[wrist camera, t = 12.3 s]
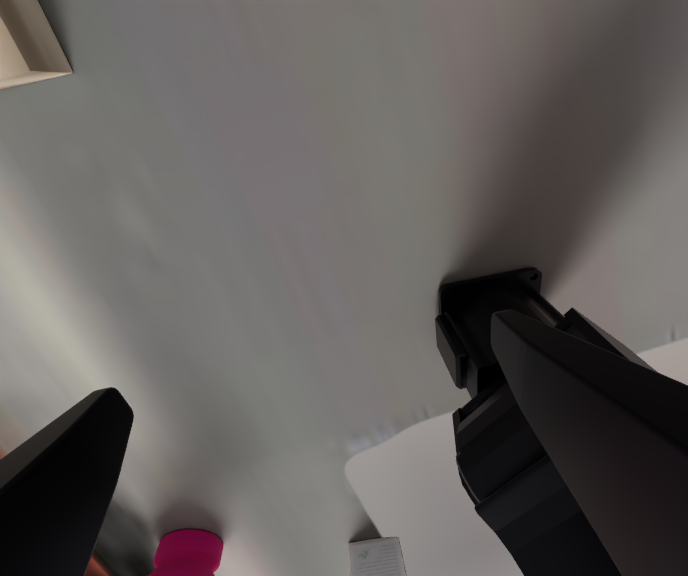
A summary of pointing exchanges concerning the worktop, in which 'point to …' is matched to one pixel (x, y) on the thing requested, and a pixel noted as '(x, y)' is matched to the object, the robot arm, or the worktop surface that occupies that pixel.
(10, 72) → the plinth
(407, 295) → the worktop surface
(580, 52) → the worktop surface
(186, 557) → the pepper mill
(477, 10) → the worktop surface
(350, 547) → the syrup box
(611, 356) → the robot arm
